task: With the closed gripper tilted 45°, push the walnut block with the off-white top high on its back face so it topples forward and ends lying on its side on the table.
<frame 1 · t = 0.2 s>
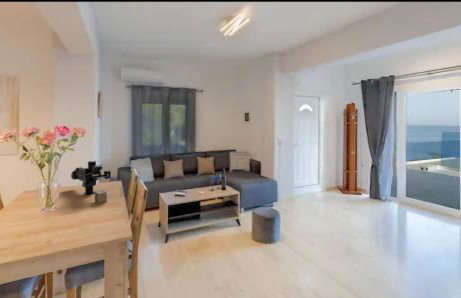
hand: (103, 178, 196), 16 cm above the table, tool horizontal, fingers open, 9 cm apart
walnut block: (100, 201, 192), on the table
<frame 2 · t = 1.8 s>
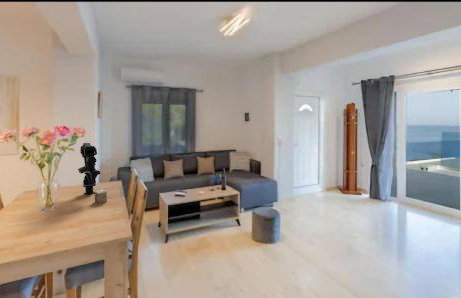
hand: (91, 182, 201), 12 cm above the table, tool pointing down, fingers open, 5 cm apart
nothing on the table moved.
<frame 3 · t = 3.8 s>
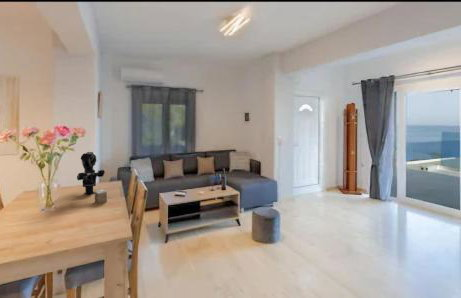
hand: (95, 183, 196), 12 cm above the table, tool tilted 45°, fingers closed
nothing on the table moved.
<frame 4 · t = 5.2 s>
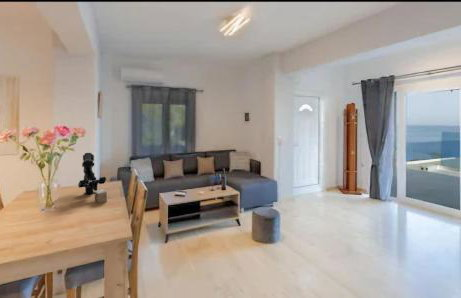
hand: (96, 191, 196), 7 cm above the table, tool tilted 45°, fingers closed
nothing on the table moved.
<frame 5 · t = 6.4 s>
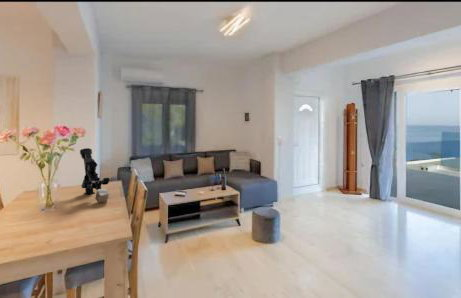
hand: (100, 191, 191), 7 cm above the table, tool tilted 45°, fingers closed
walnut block: (101, 199, 192), point 1 cm above the table, tilted 29°, touching gripper
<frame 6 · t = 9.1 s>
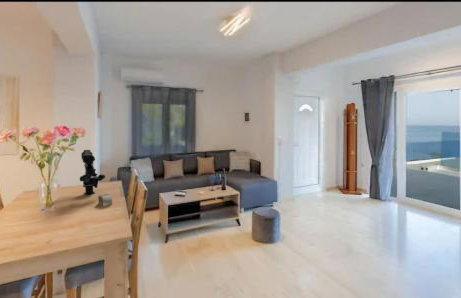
hand: (96, 187, 197), 9 cm above the table, tool tilted 35°, fingers closed
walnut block: (102, 198, 190), point 3 cm above the table, tilted 90°
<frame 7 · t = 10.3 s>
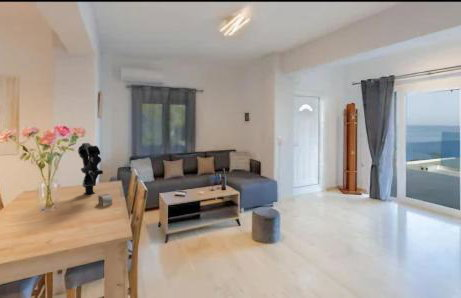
hand: (94, 182, 202), 12 cm above the table, tool pointing down, fingers closed
nothing on the table moved.
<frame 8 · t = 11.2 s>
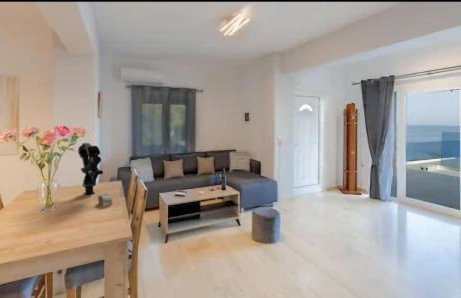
hand: (94, 182, 202), 12 cm above the table, tool pointing down, fingers closed
nothing on the table moved.
at the end: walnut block tilted 90°; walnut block inside the target area (1.6 cm from its centre), point 2.9 cm above the table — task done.
